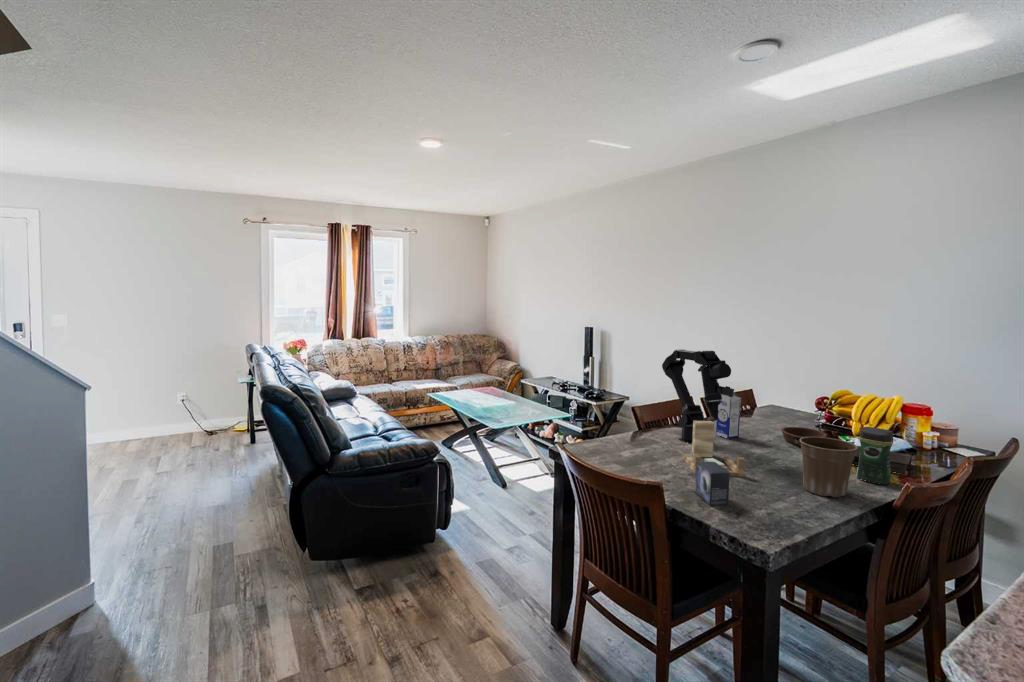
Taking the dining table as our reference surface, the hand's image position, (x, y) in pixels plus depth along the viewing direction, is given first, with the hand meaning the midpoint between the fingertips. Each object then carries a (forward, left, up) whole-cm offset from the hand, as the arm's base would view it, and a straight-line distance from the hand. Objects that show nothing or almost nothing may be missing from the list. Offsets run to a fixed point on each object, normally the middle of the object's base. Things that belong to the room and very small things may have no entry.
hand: (715, 419), depth 213 cm
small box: (+37, -38, -14) cm, 54 cm away
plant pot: (+46, +2, -14) cm, 48 cm away
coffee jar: (+46, +27, -14) cm, 55 cm away
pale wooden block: (+3, -9, -13) cm, 17 cm away
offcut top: (+18, -18, -11) cm, 28 cm away
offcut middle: (+18, -18, -13) cm, 29 cm away
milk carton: (-15, +23, -14) cm, 31 cm away
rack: (+16, -17, -13) cm, 27 cm away
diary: (+33, +46, -14) cm, 58 cm away
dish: (+4, +47, -14) cm, 49 cm away
